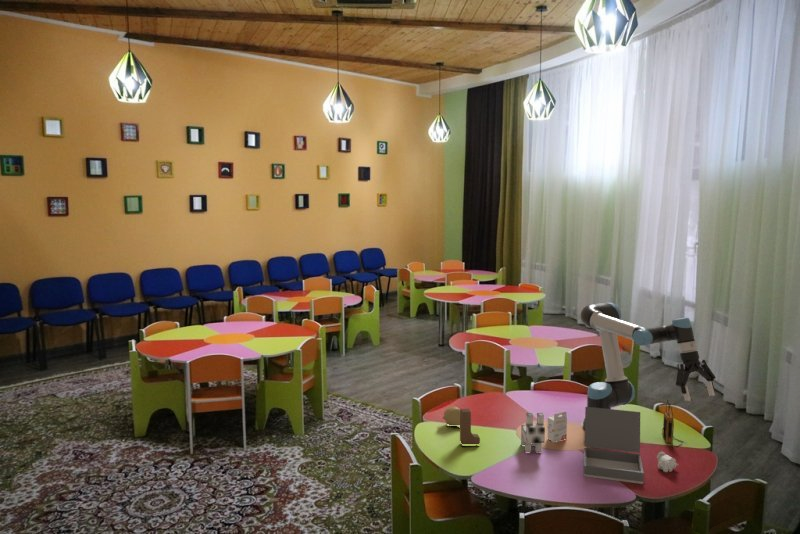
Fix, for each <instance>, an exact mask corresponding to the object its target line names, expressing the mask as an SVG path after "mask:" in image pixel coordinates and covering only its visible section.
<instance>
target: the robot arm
mask: <svg viewBox="0 0 800 534" xmlns="http://www.w3.org/2000/svg"><path fill="white" fill-rule="evenodd" d="M580 321H581V322H582V323H583V325H584V326H586V327H588V328H590V329H594V330H596V331H597V332H598V333H599V337H600V342H601V348H602V349H601V351H602V356H603V361H604V367H605V373H606V378H605V379H604V381H597V382H593V383H591V384H590V385H588V388H587V393H586V394H587V395H586V396H587V397H586V398H587V400H586V401H587V402H586V404H587V405H586V407H593V408H603V409H612V408H615V407H619V406H624V405H627V404H629V403H631V402H632V401H633V400H634V398H635V396H636V390H635V387H634V385H633V384H632V382H631V381H629V378H628V377H627V376H626V375H625V373H624V368H623V367H624V366H623V362H622V355H621V351H620V344H619V338H618V336H620V337H622V338H626V339H628V340H631V341H633V342H634V343H635V344H636V346H637V345H638V346H645V347H646V346H650V345H653V344H654V345H655V344H659V343H660V344H661V343H663V342H664V343H665V342H670V341H676V343H677V347H678V351H679V353H680V354H679V355H680V359H681V361H682V363H678V364H677V365H676V366H677V373H676V379H675V381H676V382H675V385H676V386H678V387H680V390H681V394H683V398H684V401H685V402H691V401H692V400H691V396H690V393H689V392H690V391H689V388H688V386H687V382H688V380H689V377H690V374H692V373H694V372H695V373H696V372H697V373H698V374H699V375H701V377H702V378H704V379H705V380H706V381H705V385H706V389H707V393H708V396H709V397H714V396H715V395H716V393H715V391H714V382H713V381H715V379H716V376H715V374H714V372H713V371H712V370H711V368H710V367H709V366H708V365H707V361H706V359H700V356H699V351H698V347H697V344H696V343H697V342H696V339H695V336H694V330H693V325H692V323H691V321H690V318H689V317H681V318H676V319H673V320H672V321H671V322H672V324H665V325H658V326H654V327H645V326H641V325H639V324H635V323H632V322H629V321H625V320H622V311H621V309H620V308H619V307H618V306H617V305H616V304H615V303H613V302H600V303H595V304H594V303H593V304H588V305H586V306H584V307H583V308H582V310H581V312H580ZM582 427H583V429H584V430H585V418H584V420H583V423H582Z"/></svg>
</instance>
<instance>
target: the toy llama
mask: <svg viewBox="0 0 800 534" xmlns="http://www.w3.org/2000/svg"><path fill="white" fill-rule="evenodd" d="M544 417H545V416H544V413H543V412H537V413H536V423H535V422H534V415H533V413H532V412H526V417H525V418H526V419H525V420H526V421H525V423H526V424H521V431H520V432H521V434H520V445H521V444H522V445H525V447H524V450H525V451H524V453H525V452H531V453H532V445H535V446H534V452H535V451H536V452H541V453H542V448H543V447H542V446H543V445H542V444H545V439H546V438H545V437H546V436H545V433H546V427H545V426H544ZM531 443H532V445H531ZM522 445H521V446H522ZM536 452H535V453H536Z"/></svg>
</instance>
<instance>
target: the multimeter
mask: <svg viewBox="0 0 800 534" xmlns="http://www.w3.org/2000/svg"><path fill="white" fill-rule="evenodd" d="M667 406H668V409H665V412H664V413H663V428H662V430H661V434H662V438H663V439H664V441H665V443H670V444H671V445H672V446H674V447H676V448H677V447H680V446H682V445H683V443H685V444H687V442H685V441H684V440H681V439H677V438H675V437H674V431H675V430H674V429H675V428H674V427H675V425H674V423H675V422H674V415H673V412H670V408H671V411H673V408H672V404H671V403H669V400H668V399H667V400H666V405H665V408H667ZM674 440H676V441H679V442H680V444H679V445H674V442H673V441H674Z"/></svg>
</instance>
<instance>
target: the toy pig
mask: <svg viewBox="0 0 800 534" xmlns="http://www.w3.org/2000/svg"><path fill="white" fill-rule="evenodd" d="M460 409H461V408H459V407H457V406H454V405H453V406H450V407H448V408H446V409H445V411H444V413H443V417H442V420H444V421H445V424H446V425H447V424H449V425H460Z"/></svg>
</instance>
